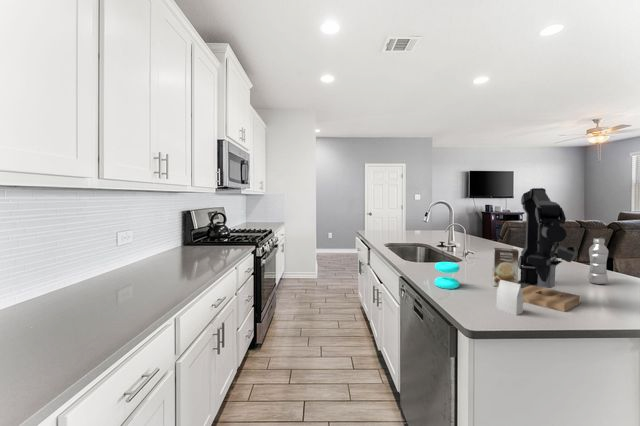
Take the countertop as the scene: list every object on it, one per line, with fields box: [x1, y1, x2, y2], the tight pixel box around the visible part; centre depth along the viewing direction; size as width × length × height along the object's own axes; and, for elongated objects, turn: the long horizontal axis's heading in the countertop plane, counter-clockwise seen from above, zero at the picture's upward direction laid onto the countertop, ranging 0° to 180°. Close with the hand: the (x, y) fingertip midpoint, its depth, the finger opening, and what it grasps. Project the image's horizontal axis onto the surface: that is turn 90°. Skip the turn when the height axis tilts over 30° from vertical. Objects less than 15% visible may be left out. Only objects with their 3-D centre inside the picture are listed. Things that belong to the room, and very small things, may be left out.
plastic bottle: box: [587, 237, 609, 285], centre depth 139 cm, size 6×7×20 cm
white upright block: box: [496, 280, 524, 316], centre depth 107 cm, size 4×7×10 cm, turn 29°
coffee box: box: [491, 247, 520, 288], centre depth 137 cm, size 9×6×16 cm
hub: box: [521, 285, 581, 313], centre depth 117 cm, size 16×14×3 cm
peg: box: [537, 263, 556, 289], centre depth 116 cm, size 4×4×9 cm
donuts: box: [434, 261, 461, 290], centre depth 137 cm, size 10×10×10 cm
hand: (546, 280), depth 117 cm, fingers closed on peg, 4 cm apart
